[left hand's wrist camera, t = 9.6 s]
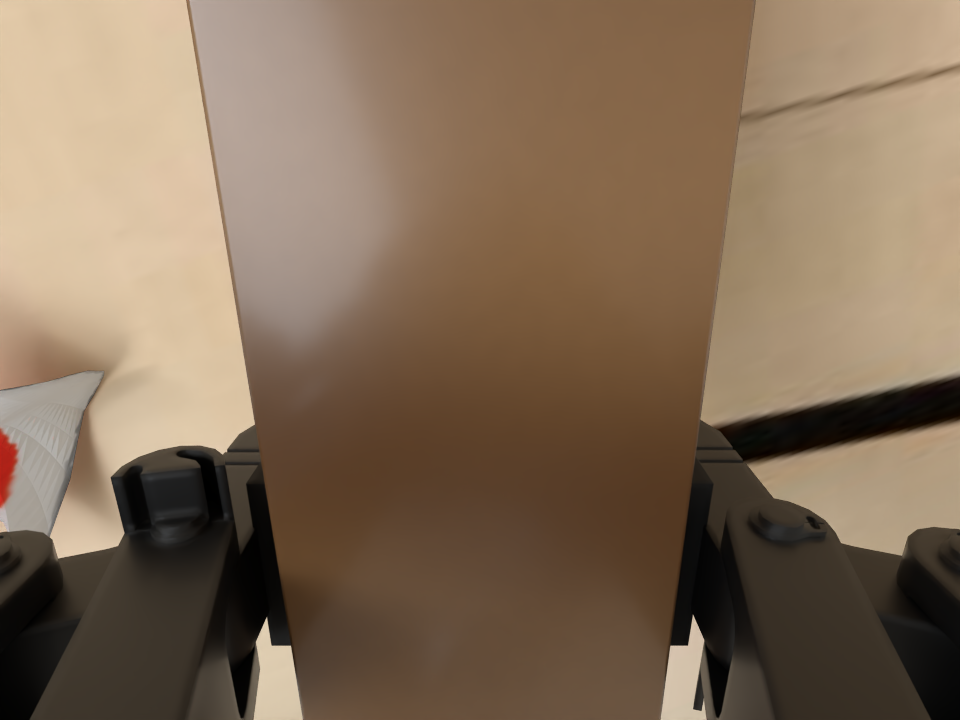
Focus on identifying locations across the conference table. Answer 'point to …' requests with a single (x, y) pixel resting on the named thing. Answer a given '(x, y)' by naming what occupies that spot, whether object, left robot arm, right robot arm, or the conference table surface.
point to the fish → (40, 447)
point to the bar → (476, 332)
